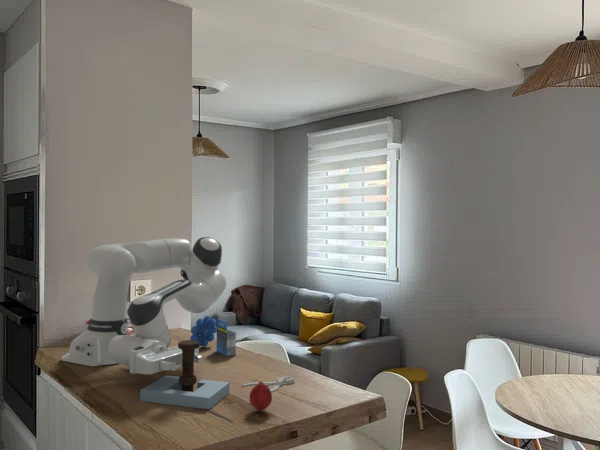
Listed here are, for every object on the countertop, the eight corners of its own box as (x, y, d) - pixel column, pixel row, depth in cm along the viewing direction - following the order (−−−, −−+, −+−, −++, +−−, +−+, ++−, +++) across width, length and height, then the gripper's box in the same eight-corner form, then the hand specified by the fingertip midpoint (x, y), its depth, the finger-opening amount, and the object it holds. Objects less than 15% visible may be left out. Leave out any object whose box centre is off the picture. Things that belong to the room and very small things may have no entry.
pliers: (241, 381, 160) (281, 373, 170) (241, 387, 160) (281, 378, 170) (261, 390, 153) (301, 381, 162) (261, 396, 153) (301, 386, 162)
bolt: (199, 393, 152) (201, 340, 151) (195, 399, 147) (196, 344, 146) (179, 392, 152) (180, 339, 152) (174, 398, 147) (175, 343, 147)
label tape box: (236, 355, 195) (237, 321, 195) (226, 356, 193) (226, 322, 193) (225, 350, 203) (226, 317, 202) (215, 351, 200) (216, 318, 200)
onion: (249, 407, 142) (250, 377, 142) (271, 407, 143) (272, 377, 143) (248, 415, 137) (249, 384, 136) (271, 415, 137) (272, 384, 137)
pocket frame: (140, 401, 145) (140, 389, 145) (165, 385, 159) (166, 375, 159) (209, 409, 140) (209, 398, 140) (229, 392, 154) (229, 382, 154)
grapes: (210, 343, 213) (211, 312, 213) (220, 346, 208) (220, 315, 208) (184, 347, 205) (185, 315, 205) (193, 350, 200) (194, 318, 200)
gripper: (177, 358, 165) (213, 366, 158) (125, 374, 147) (162, 383, 140) (178, 338, 165) (213, 344, 158) (125, 351, 147) (162, 359, 140)
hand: (189, 363), depth 149 cm, fingers open, 8 cm apart
